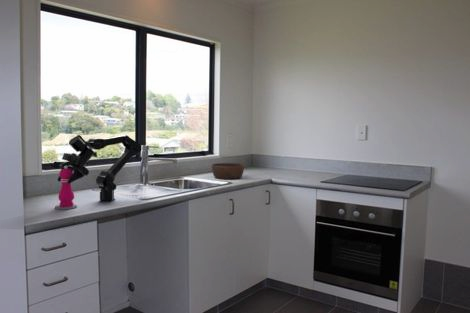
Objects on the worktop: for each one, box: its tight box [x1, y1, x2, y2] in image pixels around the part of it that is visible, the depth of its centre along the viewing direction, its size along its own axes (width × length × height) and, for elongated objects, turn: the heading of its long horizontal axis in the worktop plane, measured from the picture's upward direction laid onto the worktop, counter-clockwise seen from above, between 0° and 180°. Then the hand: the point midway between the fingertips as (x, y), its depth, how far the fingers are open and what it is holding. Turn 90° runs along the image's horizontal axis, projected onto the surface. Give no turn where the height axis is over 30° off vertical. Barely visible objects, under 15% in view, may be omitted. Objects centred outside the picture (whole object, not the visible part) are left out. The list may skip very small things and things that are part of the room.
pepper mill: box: [57, 166, 75, 207], centre depth 201 cm, size 7×7×20 cm
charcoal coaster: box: [54, 203, 78, 211], centre depth 202 cm, size 10×10×1 cm
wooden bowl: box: [211, 162, 245, 180], centre depth 315 cm, size 25×25×10 cm
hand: (63, 181), depth 200 cm, fingers open, 9 cm apart
